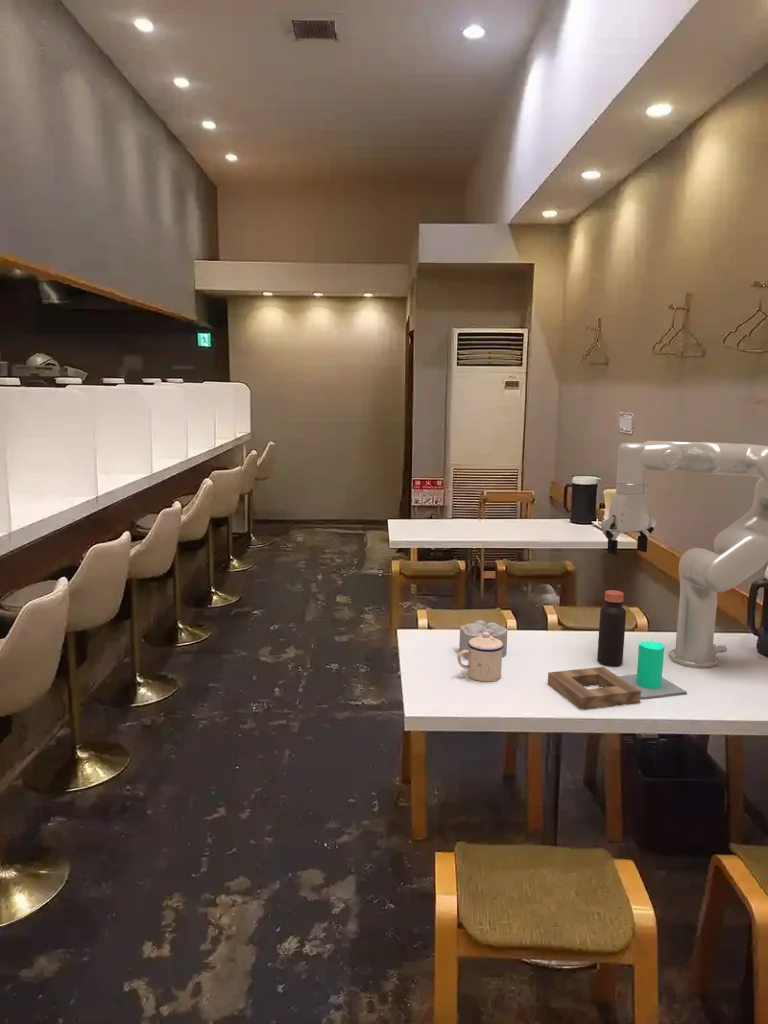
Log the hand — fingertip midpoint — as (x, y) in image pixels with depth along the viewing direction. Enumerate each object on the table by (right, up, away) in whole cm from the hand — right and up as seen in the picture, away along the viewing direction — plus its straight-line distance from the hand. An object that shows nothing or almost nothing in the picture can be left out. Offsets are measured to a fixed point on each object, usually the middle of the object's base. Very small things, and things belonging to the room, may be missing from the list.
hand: (627, 552), depth 196 cm
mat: (+2, -33, -11) cm, 35 cm away
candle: (+2, -33, -11) cm, 35 cm away
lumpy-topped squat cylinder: (-37, -30, +10) cm, 49 cm away
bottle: (-3, -31, +5) cm, 31 cm away
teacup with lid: (-41, -32, -6) cm, 52 cm away
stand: (-14, -34, -16) cm, 40 cm away
